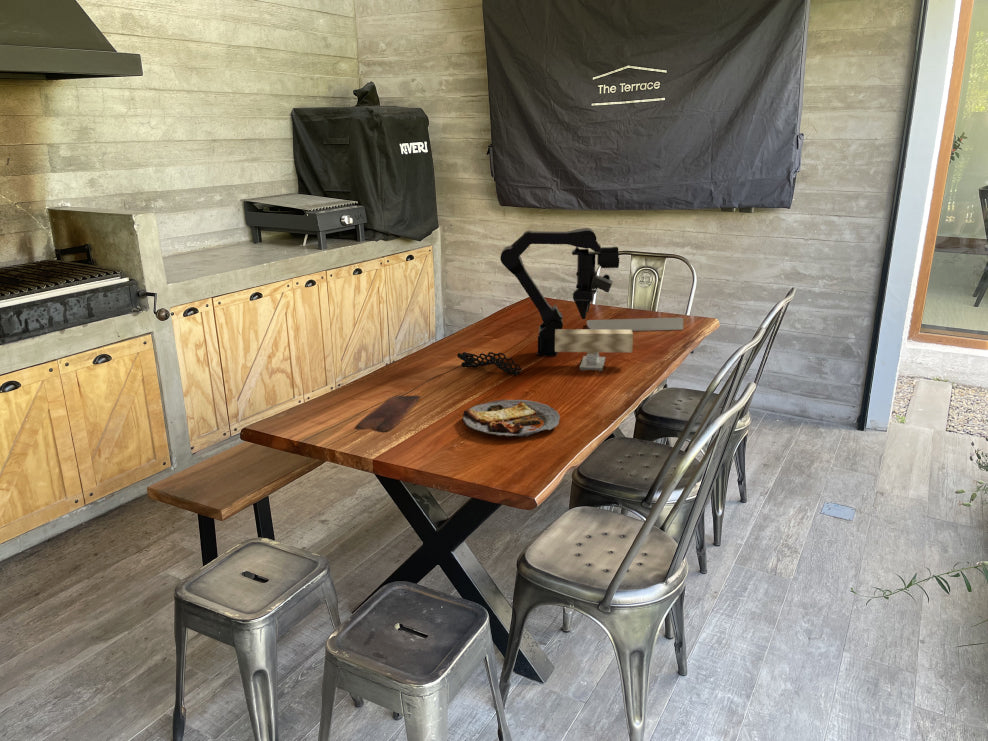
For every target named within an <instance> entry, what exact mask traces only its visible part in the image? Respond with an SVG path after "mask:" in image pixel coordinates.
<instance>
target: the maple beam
mask: <svg viewBox="0 0 988 741" xmlns="http://www.w3.org/2000/svg"><path fill="white" fill-rule="evenodd" d="M633 332H634V331H632V330H609V329H589V328H586V329H585V328H584V329H581V328H576V329H573V328H570V329H569V328H562V329H555V352H558V353H587V352H599V353H633V342H634V341H633V340H634V333H633Z"/></svg>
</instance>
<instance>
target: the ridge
mask: <svg viewBox="0 0 988 741" xmlns="http://www.w3.org/2000/svg"><path fill="white" fill-rule="evenodd" d="M605 363H606V356H600V352H586V355H583V357H582V360H581V363H580V365H579V370H580V369H581V370H580V371H585V370H599V371H598V372H603V370H604V367H603V366H605Z"/></svg>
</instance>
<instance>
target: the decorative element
mask: <svg viewBox="0 0 988 741" xmlns="http://www.w3.org/2000/svg"><path fill="white" fill-rule="evenodd" d="M456 356H457V358H458V359H460V360H462V361H463V362H461V364H460V367H462V368H463V367H473V368H479V367H486V366H490V365H495V367H496V368H498V369H499V370H501V371H503V372H505V373H507V374H509V375H512V374H513V376H516V375H518V374H522V372H521V371H522V370H523V368H522V367H521V365H519V364H518V363H515V362H514V359H512V358H511V357H508V358H507V356H506V355H505V353H503V352H498V353H495V352H493V351H489V352H487V354H485V353H480V354H479V355H477V354H474V353H470V352H466V351H463V352H462V353H461V352H458V353H457V355H456ZM496 356H497V357H496ZM502 356H503V357H502ZM504 360H506V362H505V361H504ZM510 362H511V363H510ZM513 366H514V367H513Z"/></svg>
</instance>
